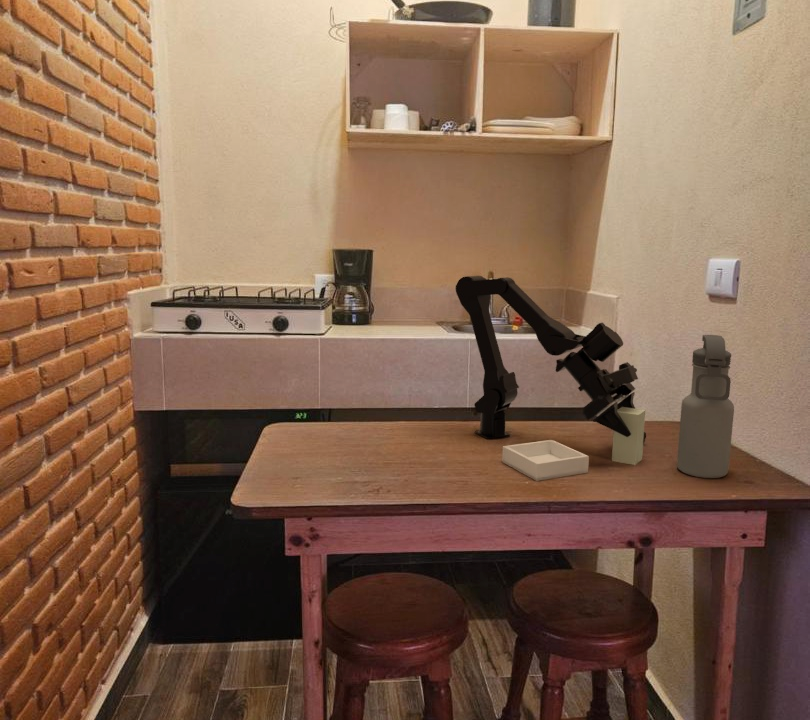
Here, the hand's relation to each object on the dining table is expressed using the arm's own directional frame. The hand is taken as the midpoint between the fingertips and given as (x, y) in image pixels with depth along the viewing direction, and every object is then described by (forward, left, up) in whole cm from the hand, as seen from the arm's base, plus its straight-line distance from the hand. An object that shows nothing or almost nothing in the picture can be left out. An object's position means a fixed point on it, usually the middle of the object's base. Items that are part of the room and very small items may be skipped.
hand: (635, 431), depth 143 cm
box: (-4, -20, -7) cm, 22 cm away
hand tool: (-17, +12, -7) cm, 22 cm away
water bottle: (+11, +8, -7) cm, 15 cm away
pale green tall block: (-1, -1, -7) cm, 7 cm away
